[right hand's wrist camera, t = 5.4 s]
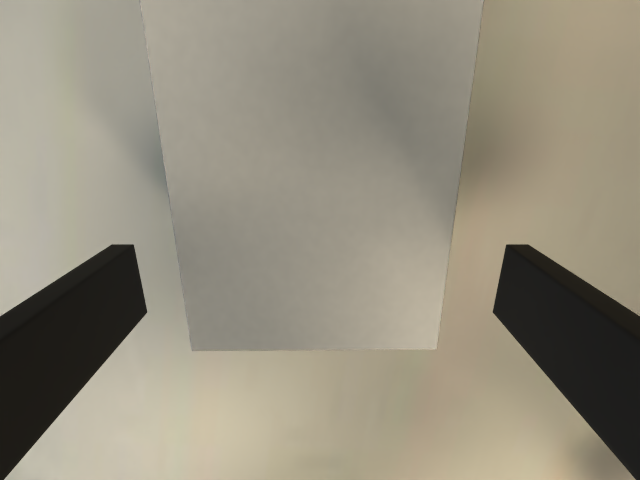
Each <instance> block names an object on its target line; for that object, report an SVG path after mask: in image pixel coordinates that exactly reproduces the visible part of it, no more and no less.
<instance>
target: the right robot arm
mask: <svg viewBox="0 0 640 480" xmlns="http://www.w3.org/2000/svg"><path fill="white" fill-rule="evenodd" d="M146 313H147V309H146V304H145V299H144V294H143V289H142V284H141V279H140V274H139V269H138V264H137V259H136V254H135V249H134V245H110V246H109V247H107V248H106V249H104V250H103V251H101V252H100V253H98V254H96V255H95V256H93V257H92V258H90V259H89V260H87V261H86V262H84V263H82V264H81V265H79V266H78V267H76V268H75V269H73V270H72V271H70V272H69V273H67V274H65V275H64V276H62V277H61V278H59V279H58V280H56V281H55V282H53V283H51V284H50V285H48V286H47V287H45V288H44V289H42V290H41V291H39V292H37V293H36V294H34V295H33V296H31V297H30V298H28V299H27V300H25V301H23V302H22V303H20V304H19V305H17V306H16V307H14V308H13V309H11V310H9V311H8V312H6V313H5V314H3V315H2V316H0V480H4V479H5V478H6V477H7V475H8V474H9V473H10V472H11V471H12V470H13V468H14V467H15V466H16V465H17V464H18V463H19V461H20V460H21V459H22V458H23V457H24V456H25V454H26V453H27V452H28V451H29V450H30V449H31V447H32V446H33V445H34V444H35V443H36V442H37V440H38V439H39V438H40V437H41V436H42V435H43V433H44V432H45V431H46V430H47V429H48V428H49V426H50V425H51V424H52V423H53V422H54V421H55V419H56V418H57V417H58V416H59V415H60V414H61V412H62V411H63V410H64V409H65V408H66V407H67V405H68V404H69V403H70V402H71V401H72V399H73V398H74V397H75V396H76V395H77V394H78V392H79V391H80V390H81V389H82V388H83V387H84V385H85V384H86V383H87V382H88V381H89V380H90V378H91V377H92V376H93V375H94V374H95V373H96V371H97V370H98V369H99V368H100V367H101V366H102V364H103V363H104V362H105V361H106V360H107V359H108V357H109V356H110V355H111V354H112V353H113V352H114V350H115V349H116V348H117V347H118V346H119V345H120V343H121V342H122V341H123V340H124V339H125V338H126V336H127V335H128V334H129V333H130V332H131V331H132V329H133V328H134V327H135V326H136V325H137V324H138V322H139V321H140V320H141V319H142V318H143V317H144V315H145V314H146ZM493 313H494V314H495V315H496V317H497V318H498V319H499V320H500V321H501V322H502V324H503V325H504V326H505V327H506V328H507V329H508V331H509V332H510V333H511V334H512V335H513V336H514V338H515V339H516V340H517V341H518V342H519V343H520V345H521V346H522V347H523V348H524V349H525V350H526V352H527V353H528V354H529V355H530V356H531V357H532V359H533V360H534V361H535V362H536V363H537V364H538V366H539V367H540V368H541V369H542V370H543V371H544V373H545V374H546V375H547V376H548V377H549V378H550V380H551V381H552V382H553V383H554V384H555V385H556V387H557V388H558V389H559V390H560V391H561V392H562V394H563V395H564V396H565V397H566V398H567V399H568V401H569V402H570V403H571V404H572V405H573V407H574V408H575V409H576V410H577V411H578V412H579V414H580V415H581V416H582V417H583V418H584V419H585V421H586V422H587V423H588V424H589V425H590V426H591V428H592V429H593V430H594V431H595V432H596V433H597V435H598V436H599V437H600V438H601V439H602V440H603V442H604V443H605V444H606V445H607V446H608V447H609V449H610V450H611V451H612V452H613V453H614V454H615V456H616V457H617V458H618V459H619V460H620V461H621V463H622V464H623V465H624V466H625V467H626V468H627V470H628V471H629V472H630V473H631V474H632V475H633V477H634V478H635V479H636V480H640V316H638V315H637V314H635V313H634V312H632V311H631V310H629V309H627V308H626V307H624V306H623V305H621V304H620V303H618V302H617V301H615V300H613V299H612V298H610V297H609V296H607V295H606V294H604V293H603V292H601V291H599V290H598V289H596V288H595V287H593V286H592V285H590V284H589V283H587V282H585V281H584V280H582V279H581V278H579V277H578V276H576V275H575V274H573V273H571V272H570V271H568V270H567V269H565V268H564V267H562V266H561V265H559V264H558V263H556V262H554V261H553V260H551V259H550V258H548V257H547V256H545V255H544V254H542V253H540V252H539V251H537V250H536V249H534V248H533V247H531V246H530V245H506V249H505V254H504V259H503V264H502V269H501V274H500V279H499V284H498V289H497V294H496V299H495V304H494V309H493Z"/></svg>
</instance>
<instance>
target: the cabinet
mask: <svg viewBox="0 0 640 480" xmlns="http://www.w3.org/2000/svg"><path fill="white" fill-rule="evenodd" d="M483 4H484V0H140V6H141V13H142V20H143V27H144V33H145V40H146V47H147V53H148V60H149V67H150V74H151V80H152V87H153V94H154V100H155V107H156V114H157V121H158V127H159V134H160V141H161V147H162V154H163V161H164V168H165V174H166V181H167V188H168V194H169V201H170V208H171V215H172V221H173V228H174V235H175V242H176V248H177V255H178V262H179V268H180V275H181V282H182V289H183V295H184V302H185V309H186V315H187V322H188V329H189V336H190V342H191V349H192V351H263V350H436V349H437V344H438V337H439V329H440V322H441V314H442V307H443V300H444V292H445V285H446V277H447V270H448V263H449V255H450V248H451V240H452V233H453V226H454V218H455V211H456V204H457V196H458V189H459V181H460V174H461V167H462V159H463V152H464V144H465V137H466V130H467V122H468V115H469V107H470V100H471V93H472V85H473V78H474V71H475V63H476V56H477V48H478V41H479V34H480V26H481V19H482V11H483Z"/></svg>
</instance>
